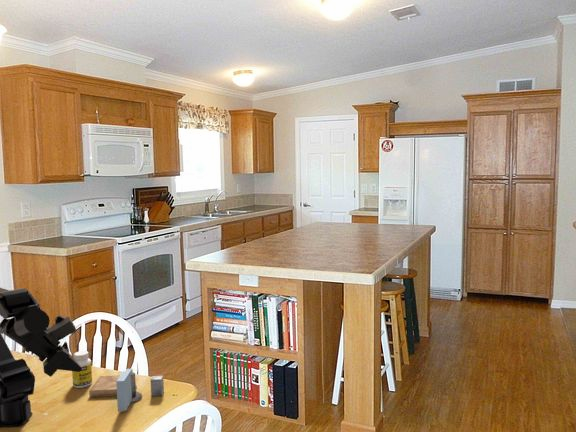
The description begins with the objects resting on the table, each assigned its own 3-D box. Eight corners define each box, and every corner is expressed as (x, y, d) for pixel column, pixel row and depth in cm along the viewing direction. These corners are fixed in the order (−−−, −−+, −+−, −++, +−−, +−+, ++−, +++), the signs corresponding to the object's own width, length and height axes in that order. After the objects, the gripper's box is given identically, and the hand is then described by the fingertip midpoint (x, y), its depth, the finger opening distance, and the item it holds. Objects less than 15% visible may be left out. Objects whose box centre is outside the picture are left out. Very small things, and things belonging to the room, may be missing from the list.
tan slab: (83, 405, 137) (81, 380, 136) (100, 382, 152) (99, 360, 151) (139, 403, 138) (137, 378, 137) (150, 380, 152) (149, 358, 152)
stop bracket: (151, 396, 141) (150, 379, 141) (153, 392, 144) (152, 376, 143) (161, 396, 141) (161, 379, 141) (163, 392, 144) (163, 375, 143)
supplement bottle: (79, 390, 147) (77, 357, 146) (69, 385, 150) (67, 353, 149) (96, 383, 151) (94, 352, 150) (86, 379, 154) (84, 348, 153)
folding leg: (127, 395, 141) (125, 367, 140) (134, 395, 141) (133, 366, 140) (117, 411, 131) (116, 381, 131) (125, 411, 131) (124, 380, 131)
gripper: (56, 319, 117) (108, 355, 123) (51, 301, 134) (98, 334, 140) (20, 358, 114) (75, 393, 120) (20, 335, 131) (69, 367, 137)
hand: (80, 370), depth 129 cm, fingers closed
